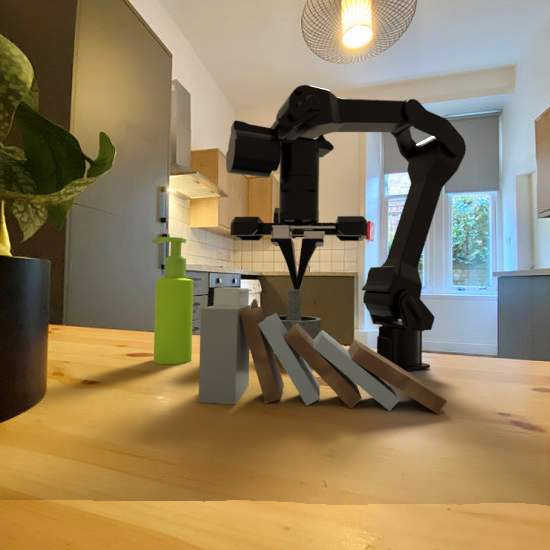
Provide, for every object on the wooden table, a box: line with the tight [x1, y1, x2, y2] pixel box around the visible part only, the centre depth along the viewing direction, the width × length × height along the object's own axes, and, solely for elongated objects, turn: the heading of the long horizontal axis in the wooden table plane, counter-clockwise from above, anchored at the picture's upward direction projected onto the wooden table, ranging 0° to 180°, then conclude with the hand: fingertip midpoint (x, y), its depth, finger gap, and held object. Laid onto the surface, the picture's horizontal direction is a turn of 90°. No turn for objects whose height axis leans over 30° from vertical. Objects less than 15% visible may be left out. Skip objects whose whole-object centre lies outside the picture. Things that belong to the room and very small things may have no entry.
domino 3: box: [284, 323, 363, 409], centre depth 39 cm, size 2×5×10 cm
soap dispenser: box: [150, 236, 194, 365], centre depth 57 cm, size 6×7×20 cm
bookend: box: [198, 304, 251, 405], centre depth 40 cm, size 4×7×10 cm, turn 173°
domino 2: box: [258, 312, 321, 407], centre depth 39 cm, size 2×5×10 cm
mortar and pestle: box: [264, 287, 322, 361], centre depth 61 cm, size 11×9×12 cm
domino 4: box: [313, 329, 401, 412], centre depth 38 cm, size 2×5×10 cm
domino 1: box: [240, 305, 285, 404], centre depth 40 cm, size 2×5×10 cm, turn 173°
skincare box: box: [213, 287, 250, 306], centre depth 57 cm, size 6×4×12 cm
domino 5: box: [347, 338, 448, 415], centre depth 38 cm, size 2×5×10 cm
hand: (297, 289), depth 50 cm, fingers closed
